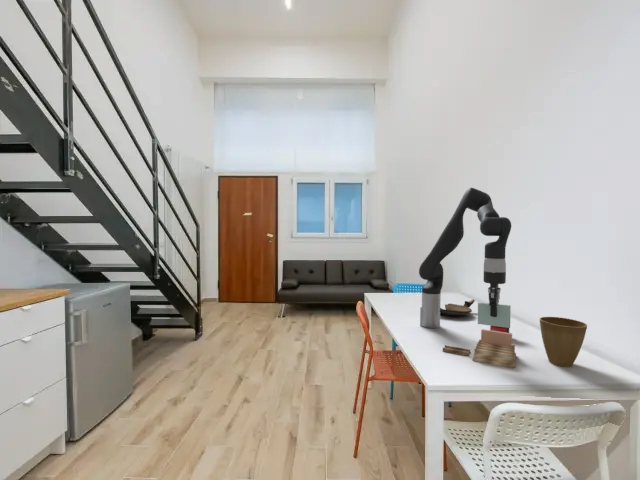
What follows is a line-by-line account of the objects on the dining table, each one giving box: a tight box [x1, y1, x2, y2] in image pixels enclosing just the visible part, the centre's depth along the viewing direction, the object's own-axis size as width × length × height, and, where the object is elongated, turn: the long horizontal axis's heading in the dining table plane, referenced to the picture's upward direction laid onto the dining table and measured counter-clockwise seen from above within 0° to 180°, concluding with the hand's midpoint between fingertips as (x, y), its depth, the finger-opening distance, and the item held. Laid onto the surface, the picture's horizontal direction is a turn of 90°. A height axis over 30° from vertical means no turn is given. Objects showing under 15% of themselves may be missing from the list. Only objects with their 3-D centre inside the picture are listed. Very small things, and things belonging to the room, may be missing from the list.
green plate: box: [477, 302, 512, 329], centre depth 136 cm, size 11×2×8 cm, turn 59°
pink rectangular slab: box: [480, 328, 513, 347], centre depth 145 cm, size 11×2×8 cm, turn 59°
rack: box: [472, 339, 517, 369], centre depth 141 cm, size 14×15×4 cm
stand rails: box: [442, 344, 471, 357], centre depth 147 cm, size 10×4×1 cm, turn 59°
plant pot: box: [539, 316, 588, 368], centre depth 136 cm, size 15×15×16 cm
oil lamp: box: [440, 299, 476, 317], centre depth 211 cm, size 22×30×8 cm
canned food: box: [489, 325, 510, 333], centre depth 169 cm, size 8×8×11 cm
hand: (493, 315), depth 136 cm, fingers closed on green plate, 1 cm apart
